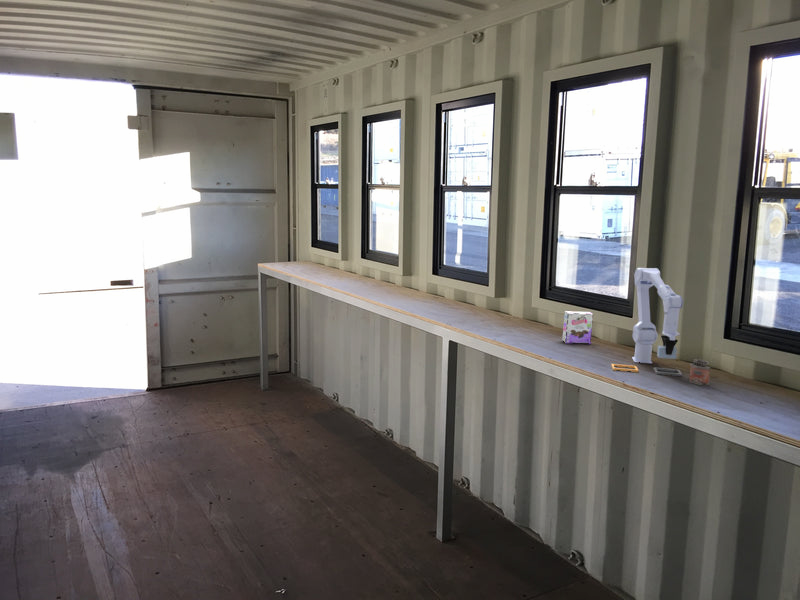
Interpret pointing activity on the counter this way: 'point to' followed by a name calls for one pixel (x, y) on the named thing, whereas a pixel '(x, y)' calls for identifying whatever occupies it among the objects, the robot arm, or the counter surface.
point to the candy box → (577, 327)
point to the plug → (662, 353)
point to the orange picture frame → (624, 366)
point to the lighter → (699, 372)
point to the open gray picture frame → (667, 370)
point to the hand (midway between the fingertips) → (667, 353)
